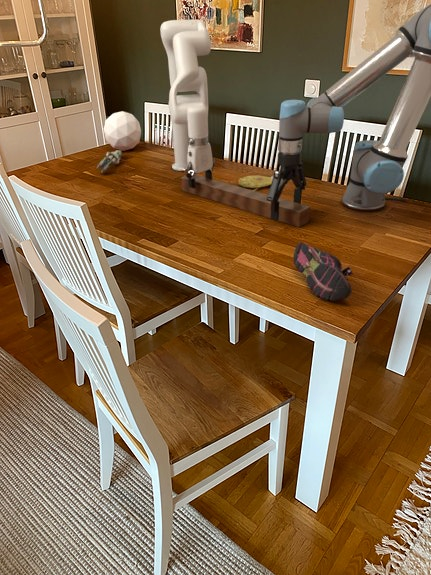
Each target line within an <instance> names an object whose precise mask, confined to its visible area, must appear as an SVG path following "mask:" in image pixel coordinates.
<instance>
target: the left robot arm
mask: <svg viewBox="0 0 431 575" xmlns="http://www.w3.org/2000/svg"><path fill="white" fill-rule="evenodd" d="M159 29H160V37H161V41H162V44H163V47H164V49H165V52H166V55H167V60H168V61H167V62H168V74H169V76H168V77H169V83H170V89H169V94H168V95H169V96H168V111H169V116H170V121H171V129H172V142H173V154H174V163H172V164H171V169H172V170H174V171H177V172H183V173H184V176H187V178H188V182H189V187H190V188H193V189H195V179H194V176H195V175H197V174H201V173H203V172H204V175H205V176H204V177H206V178H209V179H213V172H214V168H215V163H216V162H217V161H216V158H214V157H213V151H212V147H211V143H210V142H209V119H208V117H209V89H208V88H209V87H208V77H207V76H208V75H207V72H206V69H205V68H204V67H202V66H199V62H198V57H200V56H208V55H209V54H210V52H211V49H212V41H211V37H210V36H211V35H210V32H209V31H208V29H207V27H206V25H205V23H204V21H202V20H201V19H171V20H167V21H164V22H162V23H161V25H160V28H159ZM184 92H196V93H194V94H179V95H178V93H184ZM191 174H192V175H191Z"/></svg>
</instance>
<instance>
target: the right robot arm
mask: <svg viewBox="0 0 431 575" xmlns="http://www.w3.org/2000/svg"><path fill="white" fill-rule="evenodd" d="M408 58H412V59H413V58H414V59H413V62H412V65H411V66H410V69H409V72H408V74H407V76H406V78H405V80H404V83H403V86H402V88H401V90H400V92H399V94H398V97H397V99H396V102H395V104H394V106H393V109H392V111H391V113H390V115H389V118H388V120H387V122H386V125H385V127H384V129H383V131H382V134H381V136H380V138H379V140H373V139H371V140H370V139H369V140H368V139H366V140H359V141H357V142H356V143H355V144H354V147H353V148H354V149H353V154H352V155H353V156H352V163H351V164H352V165H351V169H350V177H349V183H348V184H347V187H346V189H345V192H344V194H343V196H342V199H341V205H343V206H344V207H345V208H347V209H350V210H352V211H356V212H363V213H364V212H367V213H368V212H377V211H380V210H382V209H384V207H385V204H386V202H404V203H406V201H407V199H406V198H395V197H394V198H393V197H385V195H387V194H389V193H391V192H392V193H393V192H394V191H396V190H397V189H398V188H399V187H400V186H401V184H402V182H403V180H404V178H405V173H404V172H405V171H404V166H405V163H406V161H407V159H408V158H409V154H408V152H407V148H408V146H409V144H410V142H411V139H412V137H413V135H414V133H415V131H416V128H417V127H418V124H419V122H420V120H421V118H422V117H423V116H422V115H423V114H424V111H425V110H426V108H427V106H428V103H429V101H430V98H431V3H430V4H428V5H426V6H425V7H424V8H422V9H420V11H418V12H417V13H416V14H415V15H413V16H412V17H411V18H410V19H409V20H407V21H406V22H405V23H404V24H402V26H400V27H399V28H397V29H396V30H395V34H394V36H393V37H392V38H391V39H389V40H388V41H387V42H385V43H384V44H383V45H382V46H381V47H379V48H378V49H377V50H376V51H374V52H373V53H372V54H370V55H369V56H368V57H367V58H365V59H364V60H363V61H361V62H360V63H359V64H357V65H356V67H354V68H353V69H352V70H350V72H348V73H346V74H345V75H343V77H342V78H340V79H339V80H338V81H336V82H335V83H334V84H333V85H331V86H330V87H329V88H328V89H327V90H325V91H324V92H322V93H321V94H320V95H319V96H318V97H313V98H311V99H310V100H309V101H308V102H307V104H306V102H305V101H304V100H302V99H286V100H284V101H282V102H281V104H280V110H279V120H278V121H279V124H278V141H277V142H278V144H277V151H278V153H277V164H278V165H279V170H274V171H273V175H272V176H273V180H272V183H271V185H270V187H269V190H268V194H267V195H268V196H267V201H271V218H270V219H271V220H274V221H277V220H279V201H278V200H279V198H281V195H282V193H283V191H284V189H285V187H286V185H287V184H288V182H290V181H292V183H293V185H294V187H295V188H294V189H293V201H292V202H296V203H299V204H302V196H303V191H306V187H307V180H306V175H305V171H304V162H303V161H302V153H301V152H302V149H303V148H302V147H303V137H304V134H333V133H340V132H341V131H342V130H343V126H344V123H345V122H344V120H345V111H344V107H345V106H346V105H347V104H349V103H350V102H352V100H354V99H355V98H357V97H358V96H360V95H361V94H362V93H364V92H365V91H366V90H367V89H368V88H370V87H371V86H372V85H373V84H375V83H376V82H377V81H379V80H381V79H382V78H383V77H384V76H386V75H387V74H388V73H390V72H391V71H392V70H393V69H395V68H396V67H397V66H398V65H400V64H402V62H404V61H405V60H407V59H408Z"/></svg>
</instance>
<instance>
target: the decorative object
mask: <svg viewBox="0 0 431 575" xmlns="http://www.w3.org/2000/svg"><path fill="white" fill-rule="evenodd" d="M272 180H273V175H271V176H264V175H260V174H254V175H246V176H243V177H241V178H238V180H237V185H239V186H240V187H242V188H247V189H253V190H252V191H257V190H258V189H260V188H265V187H269V186H271V183H272Z"/></svg>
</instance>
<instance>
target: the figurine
mask: <svg viewBox="0 0 431 575" xmlns="http://www.w3.org/2000/svg"><path fill="white" fill-rule="evenodd" d="M122 153H123V151H122V150H118V149H115V151H111V152H110V151H107V152H106V153H105V155H106V156H104V157H103V158H102V159H101V161H100V162H99V163H98V165H97V167H96V169H97V170H100V173H101V174H104V173H105V172H106V171H107V170H108V169H109V168H110V167H111V166H112V165H119V164H120V160H121V158H122V157H123V154H122Z"/></svg>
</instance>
